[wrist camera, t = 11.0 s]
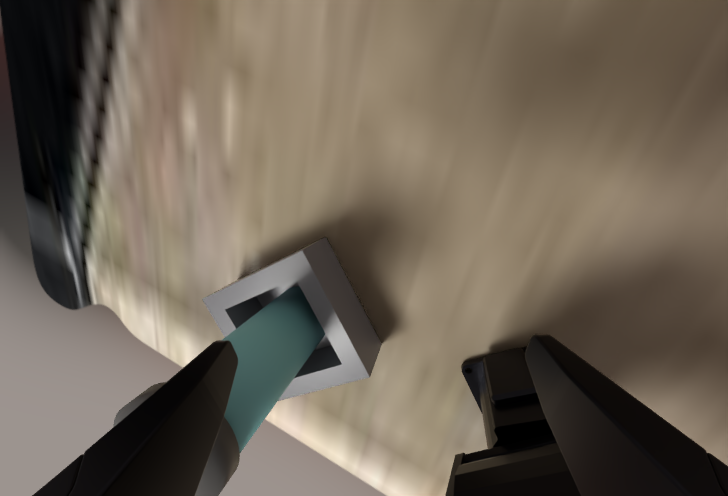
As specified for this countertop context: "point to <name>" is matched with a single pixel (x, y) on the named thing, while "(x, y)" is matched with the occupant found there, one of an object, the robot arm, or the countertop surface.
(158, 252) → the countertop surface
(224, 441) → the peg
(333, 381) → the socket block
